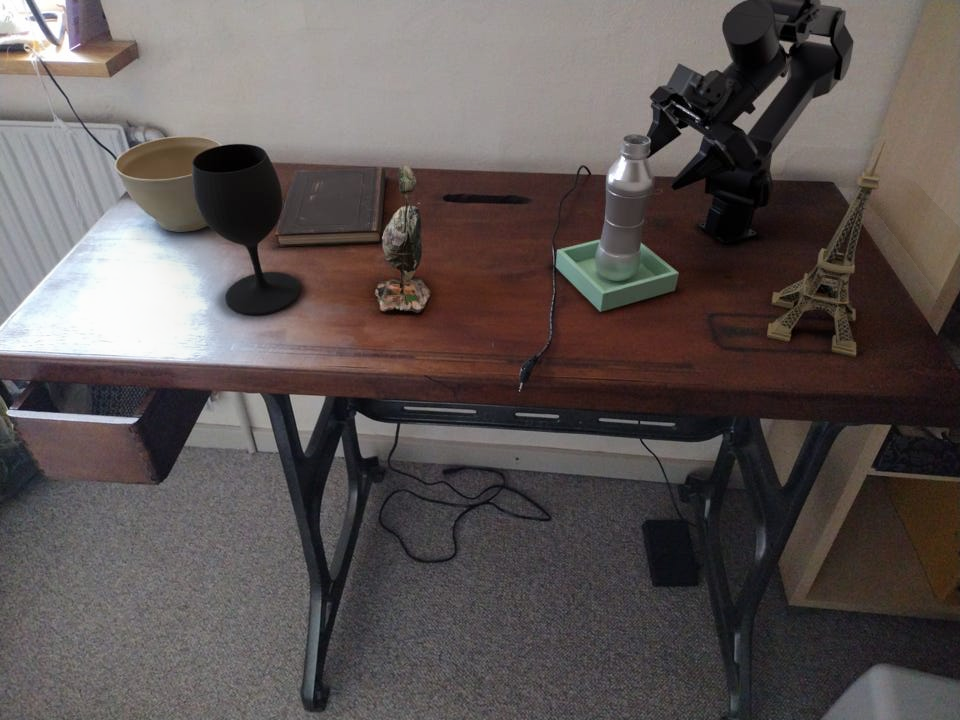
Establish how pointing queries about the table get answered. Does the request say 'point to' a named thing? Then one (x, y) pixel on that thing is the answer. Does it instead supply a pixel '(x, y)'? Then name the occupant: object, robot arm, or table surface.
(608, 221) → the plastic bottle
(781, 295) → the eiffel tower
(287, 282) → the wine glass
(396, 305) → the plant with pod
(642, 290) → the bin
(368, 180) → the hardcover book
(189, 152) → the planter bowl
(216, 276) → the table surface
